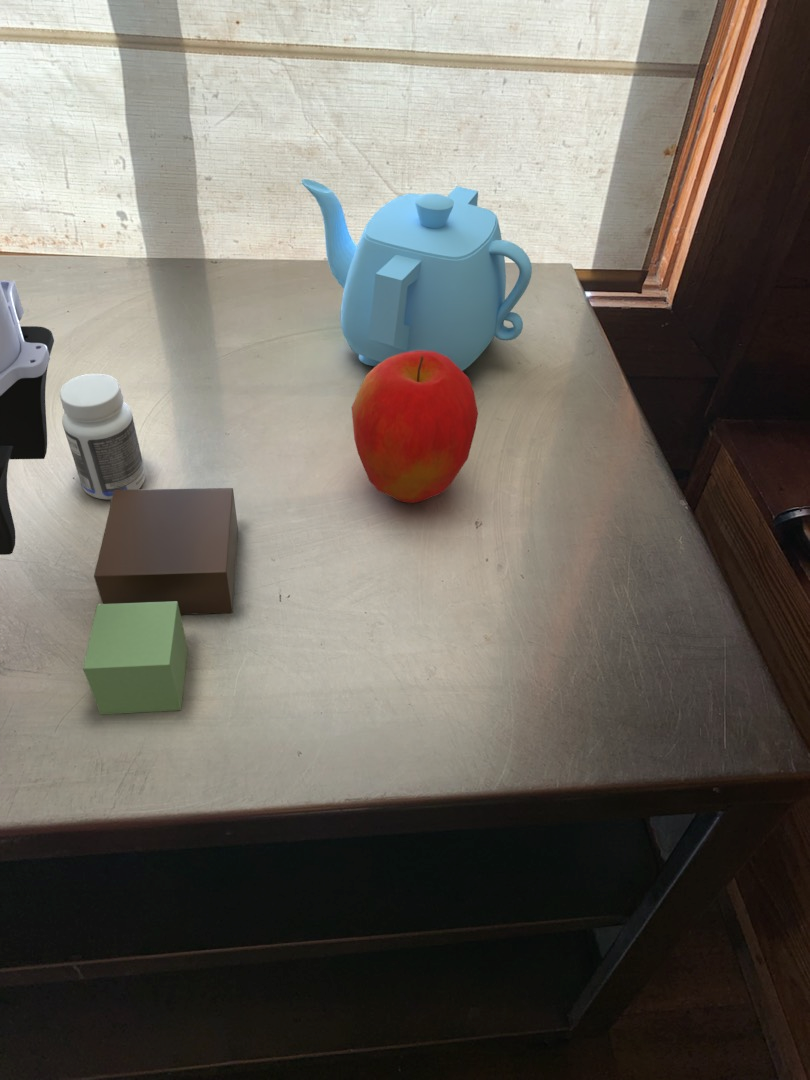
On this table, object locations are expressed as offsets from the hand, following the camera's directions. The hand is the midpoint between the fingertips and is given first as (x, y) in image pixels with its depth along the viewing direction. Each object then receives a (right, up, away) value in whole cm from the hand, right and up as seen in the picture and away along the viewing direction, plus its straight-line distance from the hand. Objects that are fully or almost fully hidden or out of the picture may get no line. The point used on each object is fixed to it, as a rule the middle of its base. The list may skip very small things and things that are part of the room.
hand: (11, 500), depth 43 cm
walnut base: (+6, -4, +11) cm, 13 cm away
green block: (+6, -11, +5) cm, 13 cm away
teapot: (+22, +17, +34) cm, 43 cm away
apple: (+22, +2, +19) cm, 29 cm away
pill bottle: (-1, +2, +17) cm, 17 cm away
